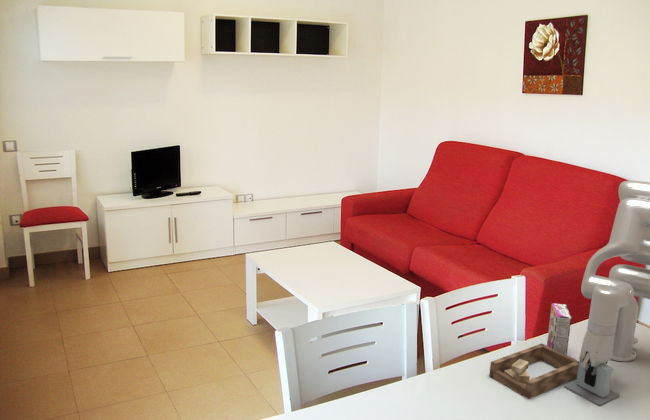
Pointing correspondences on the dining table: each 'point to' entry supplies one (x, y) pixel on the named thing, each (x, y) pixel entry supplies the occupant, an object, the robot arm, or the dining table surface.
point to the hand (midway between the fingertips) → (593, 382)
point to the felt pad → (591, 394)
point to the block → (601, 382)
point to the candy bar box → (559, 328)
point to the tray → (540, 384)
